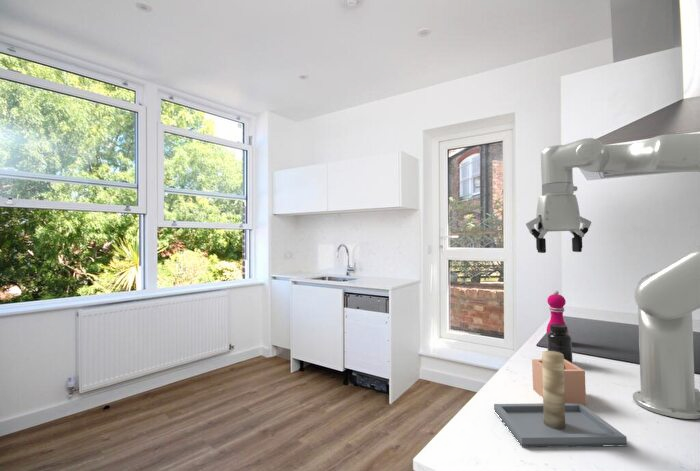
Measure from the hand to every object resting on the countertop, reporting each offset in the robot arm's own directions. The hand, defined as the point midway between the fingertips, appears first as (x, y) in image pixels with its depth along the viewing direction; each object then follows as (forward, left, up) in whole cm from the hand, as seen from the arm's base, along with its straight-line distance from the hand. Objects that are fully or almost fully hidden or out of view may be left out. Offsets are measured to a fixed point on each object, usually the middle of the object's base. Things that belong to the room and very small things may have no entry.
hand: (559, 252), depth 97 cm
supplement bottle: (-8, -16, -36) cm, 41 cm away
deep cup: (+6, +8, -36) cm, 38 cm away
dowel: (+15, +22, -36) cm, 45 cm away
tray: (+15, +23, -36) cm, 45 cm away
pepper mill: (-19, -37, -36) cm, 55 cm away
